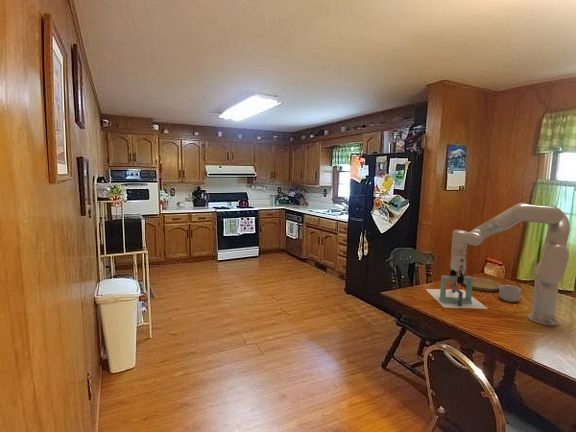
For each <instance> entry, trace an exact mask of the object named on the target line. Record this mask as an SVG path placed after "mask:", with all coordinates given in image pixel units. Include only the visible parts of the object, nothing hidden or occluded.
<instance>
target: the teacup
mask: <svg viewBox="0 0 576 432" xmlns="http://www.w3.org/2000/svg"><path fill="white" fill-rule="evenodd" d="M498 291H499V292H498V293H499V294H498V295H499V297H500V299H502V300H503V301H505V302H509V303H516V302H518V301H520V299H521V291H522V288H520V287H518V286H515V285H510V284H506V285H505V284H502V286H500V287H499V290H498Z"/></svg>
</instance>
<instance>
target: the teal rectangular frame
mask: <svg viewBox="0 0 576 432" xmlns="http://www.w3.org/2000/svg"><path fill="white" fill-rule="evenodd" d="M472 277H473V276H470V275H464V281H467V282H466V286H465V291H466V296H465V298H462V304H472V301H471V298H472V297H473V296H472V295H473V289H472V285H473V278H472ZM457 279H458V275H456V276H450V275H441V277H440V288H439V289H440V297H439V300H440V301H441V302H442V303H449V304H458V298H457V297H446V289H447V281H453V280H456V281H457Z"/></svg>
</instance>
